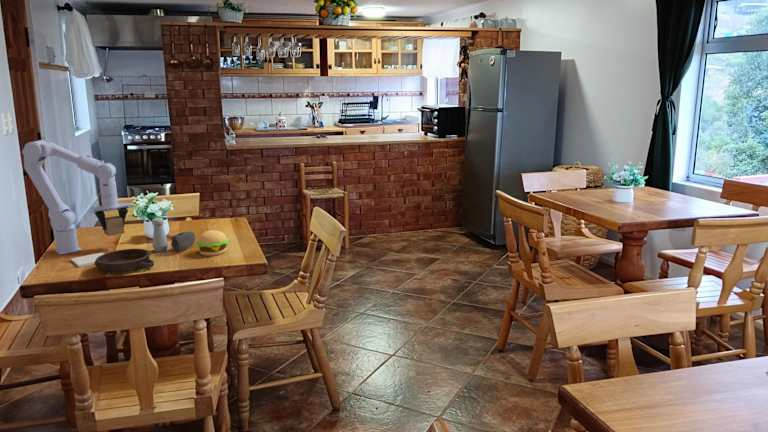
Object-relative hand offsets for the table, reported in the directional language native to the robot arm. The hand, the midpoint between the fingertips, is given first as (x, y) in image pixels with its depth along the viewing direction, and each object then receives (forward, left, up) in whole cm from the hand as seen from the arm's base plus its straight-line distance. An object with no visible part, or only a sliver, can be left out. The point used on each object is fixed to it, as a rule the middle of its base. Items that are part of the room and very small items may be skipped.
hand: (113, 228), depth 229 cm
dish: (+29, -5, -9) cm, 31 cm away
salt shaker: (+16, +12, -8) cm, 22 cm away
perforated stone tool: (+20, +20, -9) cm, 30 cm away
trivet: (+11, -12, -8) cm, 18 cm away
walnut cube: (0, 0, -2) cm, 2 cm away
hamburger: (+33, +26, -9) cm, 43 cm away
